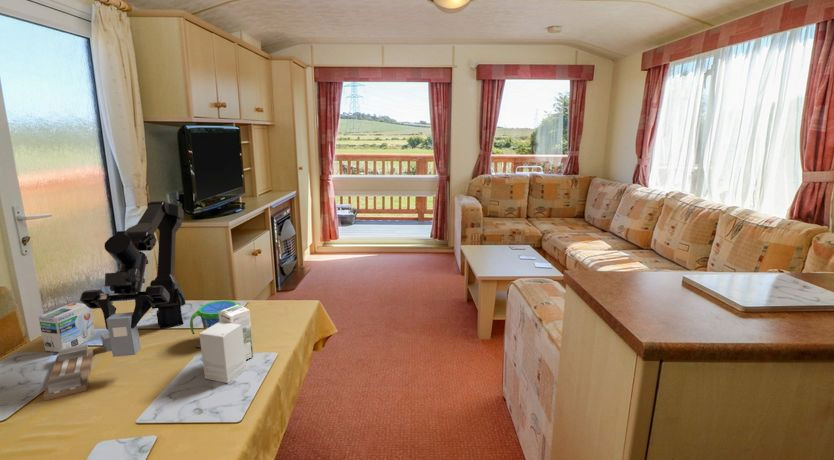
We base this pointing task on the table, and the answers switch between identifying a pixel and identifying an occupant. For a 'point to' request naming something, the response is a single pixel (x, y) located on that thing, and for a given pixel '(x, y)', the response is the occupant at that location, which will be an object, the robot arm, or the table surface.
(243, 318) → the syrup box
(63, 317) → the light bulb box
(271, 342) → the table surface
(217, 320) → the snack cup
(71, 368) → the rail board
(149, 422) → the table surface
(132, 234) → the robot arm
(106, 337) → the block
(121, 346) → the block
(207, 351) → the supplement box
